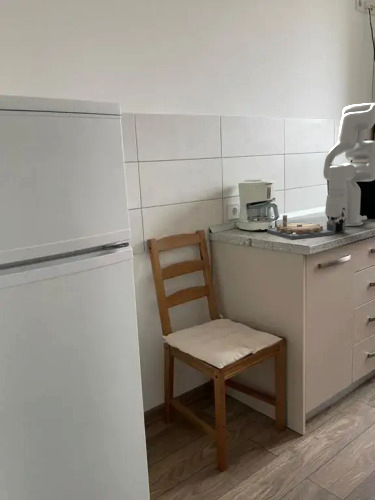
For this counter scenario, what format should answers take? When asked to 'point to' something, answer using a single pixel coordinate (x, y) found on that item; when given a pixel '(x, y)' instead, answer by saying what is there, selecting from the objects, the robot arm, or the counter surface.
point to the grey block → (334, 226)
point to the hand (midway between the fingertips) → (335, 230)
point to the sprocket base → (299, 236)
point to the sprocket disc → (298, 227)
